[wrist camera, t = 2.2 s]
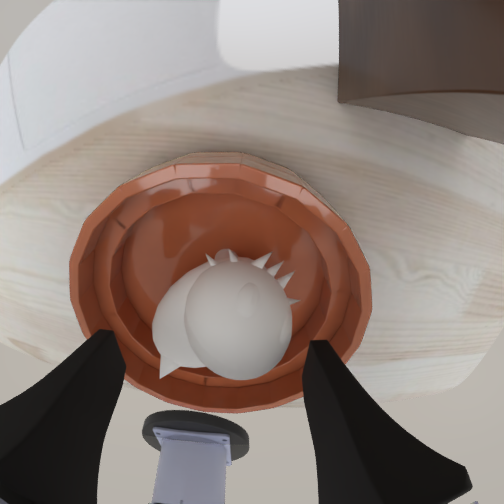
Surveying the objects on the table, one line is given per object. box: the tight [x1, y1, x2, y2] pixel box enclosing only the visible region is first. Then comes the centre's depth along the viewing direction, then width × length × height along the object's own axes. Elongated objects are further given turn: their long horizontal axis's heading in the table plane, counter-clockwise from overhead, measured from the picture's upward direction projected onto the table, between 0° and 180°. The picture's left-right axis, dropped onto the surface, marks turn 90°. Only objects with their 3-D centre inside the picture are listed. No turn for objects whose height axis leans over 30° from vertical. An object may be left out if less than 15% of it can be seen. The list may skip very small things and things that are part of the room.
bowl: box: [69, 152, 372, 413], centre depth 13 cm, size 13×13×4 cm
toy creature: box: [152, 248, 301, 380], centre depth 11 cm, size 5×8×6 cm, turn 136°
